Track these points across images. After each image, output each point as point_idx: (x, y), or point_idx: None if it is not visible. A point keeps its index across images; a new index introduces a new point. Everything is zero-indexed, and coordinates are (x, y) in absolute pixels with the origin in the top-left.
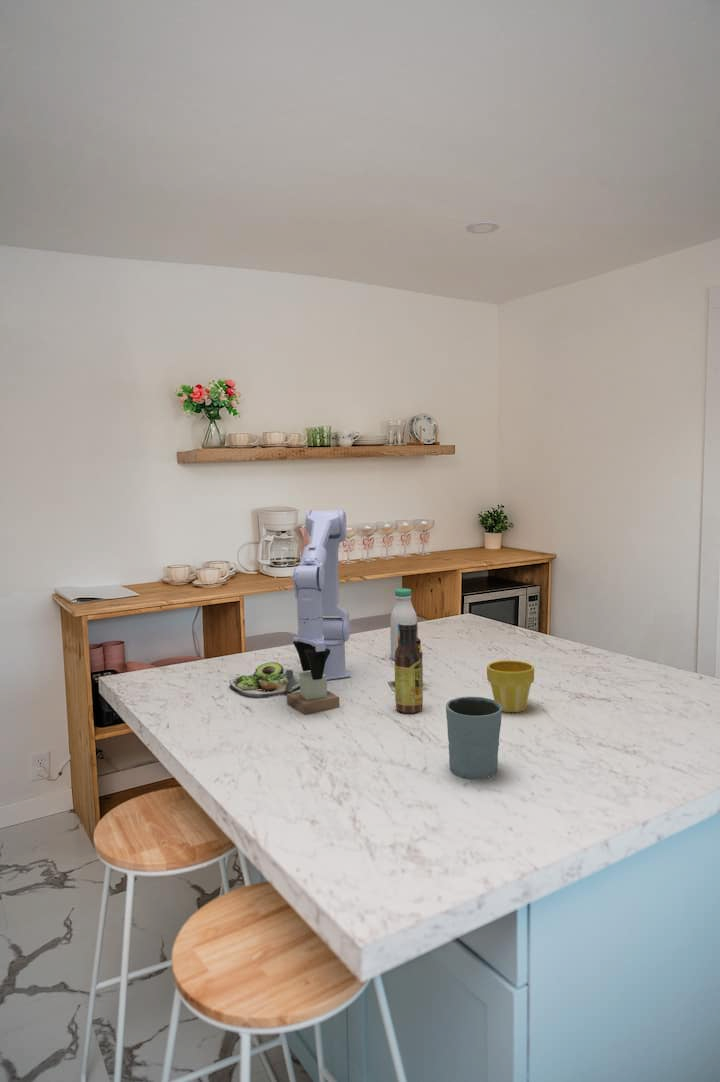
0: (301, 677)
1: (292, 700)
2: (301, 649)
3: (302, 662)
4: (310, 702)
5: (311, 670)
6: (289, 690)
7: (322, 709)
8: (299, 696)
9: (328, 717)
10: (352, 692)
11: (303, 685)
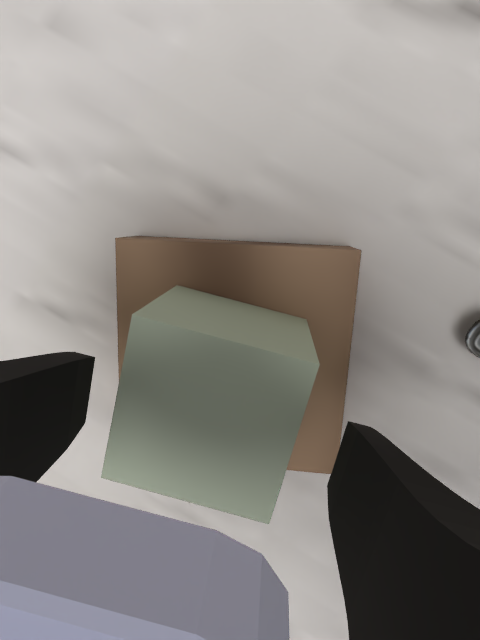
0: (255, 339)
1: (279, 245)
2: (425, 578)
3: (369, 460)
4: (129, 285)
5: (12, 361)
6: (475, 335)
7: None
8: (267, 291)
9: (46, 311)
10: (284, 582)
11: (212, 314)
